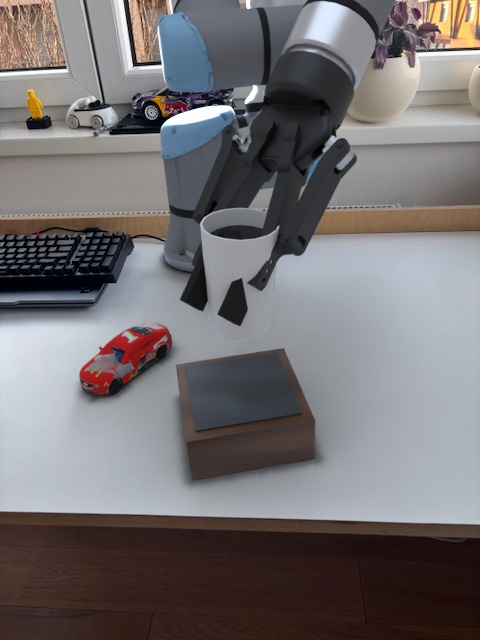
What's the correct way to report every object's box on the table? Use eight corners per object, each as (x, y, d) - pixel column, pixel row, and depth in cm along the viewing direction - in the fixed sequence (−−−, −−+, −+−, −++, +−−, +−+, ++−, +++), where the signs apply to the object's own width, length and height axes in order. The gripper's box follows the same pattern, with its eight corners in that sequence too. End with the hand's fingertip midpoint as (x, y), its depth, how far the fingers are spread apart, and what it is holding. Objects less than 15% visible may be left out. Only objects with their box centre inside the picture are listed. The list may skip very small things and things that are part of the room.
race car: (102, 405, 61) (94, 377, 59) (72, 388, 64) (64, 361, 62) (181, 348, 70) (177, 321, 68) (151, 335, 73) (146, 310, 71)
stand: (181, 399, 61) (175, 362, 58) (284, 383, 63) (283, 346, 60) (191, 480, 51) (185, 440, 48) (314, 458, 52) (315, 418, 50)
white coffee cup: (219, 350, 47) (216, 246, 42) (195, 312, 52) (189, 214, 47) (288, 333, 49) (294, 232, 44) (258, 298, 54) (260, 203, 49)
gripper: (416, 107, 47) (308, 355, 45) (262, 96, 56) (168, 300, 55) (393, 46, 41) (267, 330, 39) (225, 45, 50) (117, 273, 48)
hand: (209, 312), depth 47 cm, fingers closed on white coffee cup, 4 cm apart
